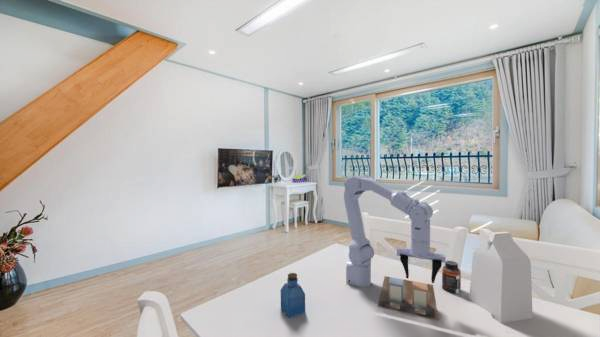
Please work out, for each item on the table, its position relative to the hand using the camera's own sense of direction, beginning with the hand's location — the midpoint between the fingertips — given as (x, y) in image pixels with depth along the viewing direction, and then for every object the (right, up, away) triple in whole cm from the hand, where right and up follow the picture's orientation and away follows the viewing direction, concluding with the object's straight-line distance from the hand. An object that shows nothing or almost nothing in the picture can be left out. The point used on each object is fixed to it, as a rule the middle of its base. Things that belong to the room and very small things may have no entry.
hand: (419, 279), depth 83 cm
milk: (+26, -10, -1) cm, 28 cm away
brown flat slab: (-1, -10, +7) cm, 12 cm away
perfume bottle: (-43, -11, 0) cm, 44 cm away
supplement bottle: (+17, -10, +10) cm, 22 cm away
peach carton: (0, -9, 0) cm, 9 cm away
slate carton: (-7, -9, +3) cm, 12 cm away
